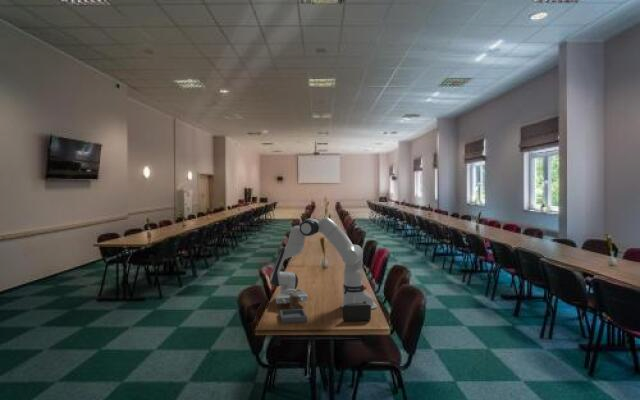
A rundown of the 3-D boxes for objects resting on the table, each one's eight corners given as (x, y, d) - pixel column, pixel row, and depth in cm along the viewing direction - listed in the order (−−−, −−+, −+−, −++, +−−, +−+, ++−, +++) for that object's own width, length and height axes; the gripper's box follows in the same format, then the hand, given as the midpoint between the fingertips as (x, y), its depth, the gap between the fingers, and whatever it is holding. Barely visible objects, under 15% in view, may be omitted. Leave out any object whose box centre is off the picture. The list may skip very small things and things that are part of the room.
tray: (303, 313, 218) (303, 308, 218) (307, 322, 205) (307, 316, 205) (280, 315, 216) (280, 310, 216) (282, 323, 202) (282, 318, 202)
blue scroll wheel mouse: (369, 318, 212) (369, 302, 211) (371, 321, 207) (371, 304, 207) (341, 319, 210) (341, 303, 209) (343, 322, 205) (343, 305, 205)
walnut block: (296, 310, 225) (296, 294, 225) (298, 312, 221) (298, 296, 221) (289, 310, 224) (289, 294, 224) (291, 313, 220) (291, 296, 219)
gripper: (273, 292, 234) (277, 298, 221) (304, 289, 240) (309, 295, 226) (273, 301, 234) (277, 308, 221) (304, 299, 240) (309, 305, 226)
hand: (293, 302), depth 224 cm, fingers open, 8 cm apart
